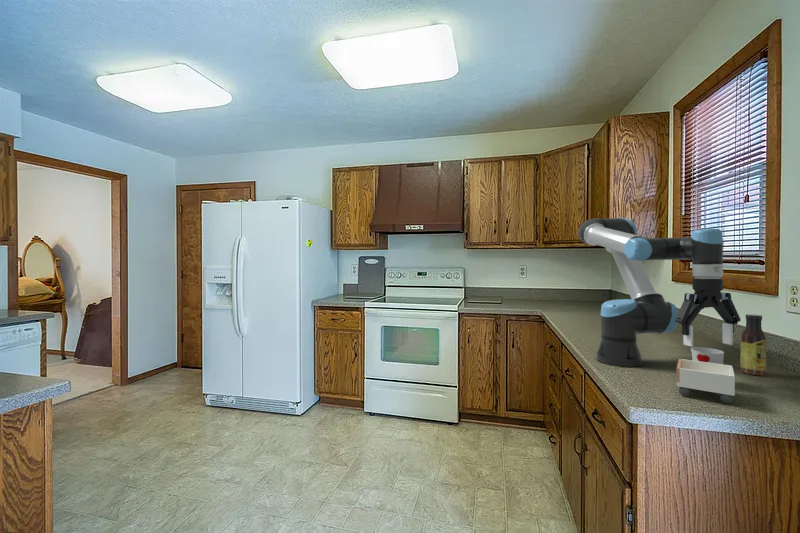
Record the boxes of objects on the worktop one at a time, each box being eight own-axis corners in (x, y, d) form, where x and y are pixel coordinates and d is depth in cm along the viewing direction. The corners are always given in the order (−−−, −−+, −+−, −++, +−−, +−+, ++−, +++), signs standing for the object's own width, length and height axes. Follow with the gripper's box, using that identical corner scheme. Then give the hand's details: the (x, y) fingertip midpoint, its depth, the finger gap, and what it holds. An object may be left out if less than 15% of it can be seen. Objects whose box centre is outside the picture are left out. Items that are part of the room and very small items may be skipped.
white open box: (676, 394, 106) (676, 368, 106) (678, 382, 116) (679, 358, 115) (734, 404, 98) (734, 376, 98) (731, 391, 108) (732, 365, 107)
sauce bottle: (761, 377, 120) (761, 317, 119) (736, 372, 125) (737, 314, 125) (769, 374, 123) (770, 315, 122) (745, 369, 128) (745, 312, 128)
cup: (684, 377, 121) (684, 347, 121) (707, 376, 122) (707, 346, 121) (706, 386, 113) (707, 354, 113) (731, 385, 113) (731, 353, 113)
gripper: (681, 279, 111) (681, 348, 112) (755, 277, 114) (756, 345, 114) (661, 278, 119) (662, 343, 119) (731, 276, 121) (732, 340, 121)
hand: (708, 344), depth 117 cm, fingers open, 13 cm apart
